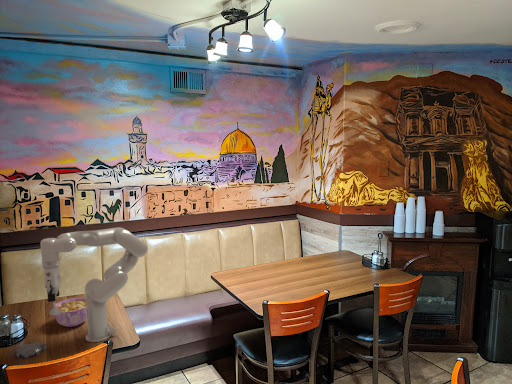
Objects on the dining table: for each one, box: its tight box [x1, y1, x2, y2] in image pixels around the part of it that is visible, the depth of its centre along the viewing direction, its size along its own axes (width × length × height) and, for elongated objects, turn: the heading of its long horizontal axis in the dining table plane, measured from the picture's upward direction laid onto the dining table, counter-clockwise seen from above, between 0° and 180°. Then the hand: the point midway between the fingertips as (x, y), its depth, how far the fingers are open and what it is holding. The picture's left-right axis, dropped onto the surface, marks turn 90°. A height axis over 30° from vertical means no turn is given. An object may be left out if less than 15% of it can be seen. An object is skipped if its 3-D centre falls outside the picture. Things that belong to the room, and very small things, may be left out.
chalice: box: [45, 276, 61, 316], centre depth 187 cm, size 7×7×18 cm
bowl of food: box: [54, 297, 88, 328], centre depth 217 cm, size 20×20×12 cm
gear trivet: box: [16, 341, 47, 359], centre depth 188 cm, size 13×13×2 cm
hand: (53, 298), depth 187 cm, fingers closed on chalice, 5 cm apart
